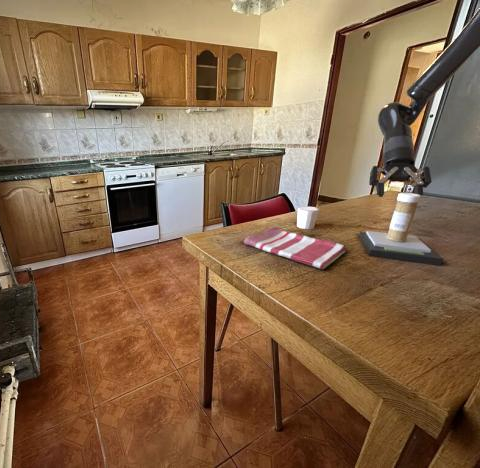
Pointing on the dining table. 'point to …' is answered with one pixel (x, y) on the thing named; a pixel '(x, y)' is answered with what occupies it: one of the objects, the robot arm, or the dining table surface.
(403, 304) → the dining table surface
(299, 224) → the white cup
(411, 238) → the scale
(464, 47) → the robot arm
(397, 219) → the sprinkles bottle
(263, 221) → the dining table surface
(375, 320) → the dining table surface
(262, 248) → the dish towel
